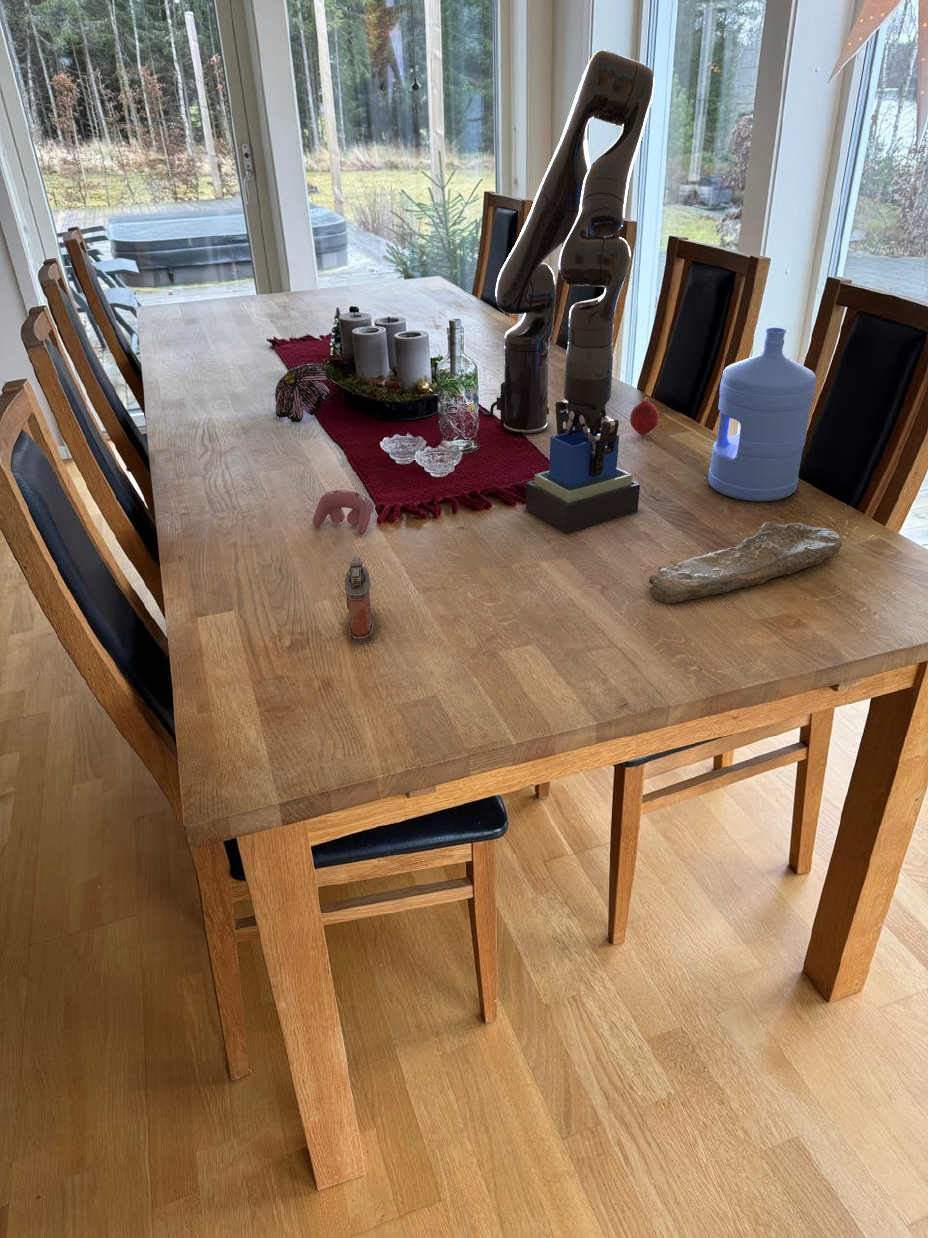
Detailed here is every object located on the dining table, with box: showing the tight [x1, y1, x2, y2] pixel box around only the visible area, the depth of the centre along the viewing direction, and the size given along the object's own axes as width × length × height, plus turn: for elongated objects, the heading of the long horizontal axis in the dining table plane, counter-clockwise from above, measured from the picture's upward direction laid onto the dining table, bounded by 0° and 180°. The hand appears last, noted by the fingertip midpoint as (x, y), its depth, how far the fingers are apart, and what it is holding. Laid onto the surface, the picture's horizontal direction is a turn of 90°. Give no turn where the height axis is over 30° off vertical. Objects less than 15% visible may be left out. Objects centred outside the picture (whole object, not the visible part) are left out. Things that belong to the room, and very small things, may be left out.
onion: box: [629, 396, 659, 436], centre depth 186 cm, size 6×6×8 cm
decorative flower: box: [274, 362, 332, 423], centre depth 202 cm, size 14×12×15 cm
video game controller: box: [312, 489, 375, 535], centre depth 152 cm, size 10×5×7 cm, turn 71°
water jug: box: [707, 327, 817, 502], centre depth 157 cm, size 16×16×28 cm
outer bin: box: [525, 480, 641, 535], centre depth 155 cm, size 16×12×5 cm
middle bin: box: [533, 467, 633, 503], centre depth 154 cm, size 14×10×6 cm
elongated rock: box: [648, 520, 843, 604], centre depth 135 cm, size 35×5×10 cm
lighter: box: [344, 556, 375, 644], centre depth 122 cm, size 8×3×10 cm, turn 5°
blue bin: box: [548, 431, 620, 487], centre depth 151 cm, size 10×6×7 cm, turn 122°
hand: (583, 468), depth 152 cm, fingers closed on blue bin, 5 cm apart
